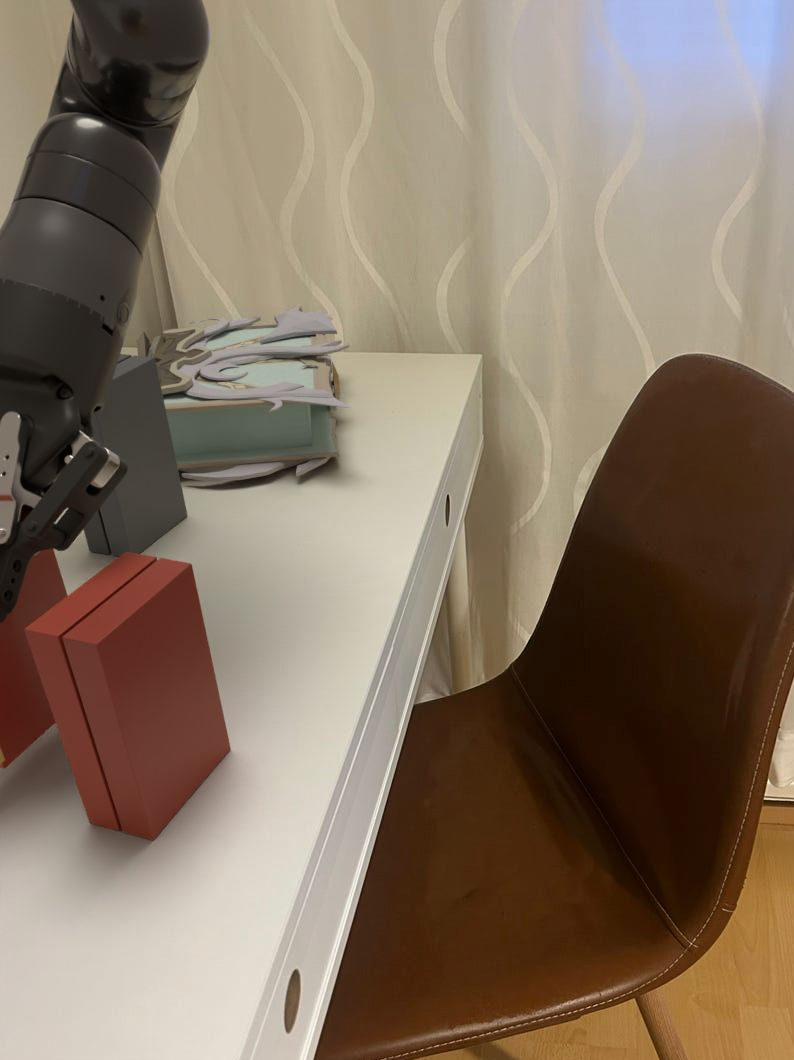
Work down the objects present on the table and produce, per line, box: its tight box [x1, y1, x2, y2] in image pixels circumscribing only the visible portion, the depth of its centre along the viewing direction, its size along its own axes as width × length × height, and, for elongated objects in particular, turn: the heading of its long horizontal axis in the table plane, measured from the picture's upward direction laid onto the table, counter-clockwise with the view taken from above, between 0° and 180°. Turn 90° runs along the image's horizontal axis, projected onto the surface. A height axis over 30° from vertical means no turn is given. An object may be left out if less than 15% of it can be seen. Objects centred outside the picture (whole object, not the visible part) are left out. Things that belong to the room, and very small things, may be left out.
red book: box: [0, 512, 69, 770], centre depth 54 cm, size 3×8×13 cm, turn 161°
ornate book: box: [136, 305, 353, 482], centre depth 98 cm, size 23×10×30 cm
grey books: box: [83, 353, 188, 557], centre depth 78 cm, size 4×8×14 cm, turn 161°
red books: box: [24, 552, 232, 841], centre depth 53 cm, size 4×8×13 cm, turn 161°
